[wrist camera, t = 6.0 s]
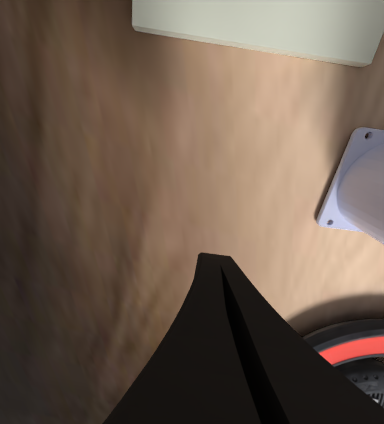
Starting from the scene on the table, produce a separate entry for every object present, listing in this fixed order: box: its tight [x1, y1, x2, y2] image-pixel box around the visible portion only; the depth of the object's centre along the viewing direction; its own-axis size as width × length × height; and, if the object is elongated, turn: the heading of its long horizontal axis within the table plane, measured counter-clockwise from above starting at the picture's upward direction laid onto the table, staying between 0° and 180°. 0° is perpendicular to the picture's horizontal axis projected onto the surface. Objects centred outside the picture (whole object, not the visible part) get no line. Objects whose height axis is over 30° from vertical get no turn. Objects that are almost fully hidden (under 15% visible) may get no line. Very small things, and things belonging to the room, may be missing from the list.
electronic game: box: [302, 319, 384, 408], centre depth 24 cm, size 23×23×5 cm
